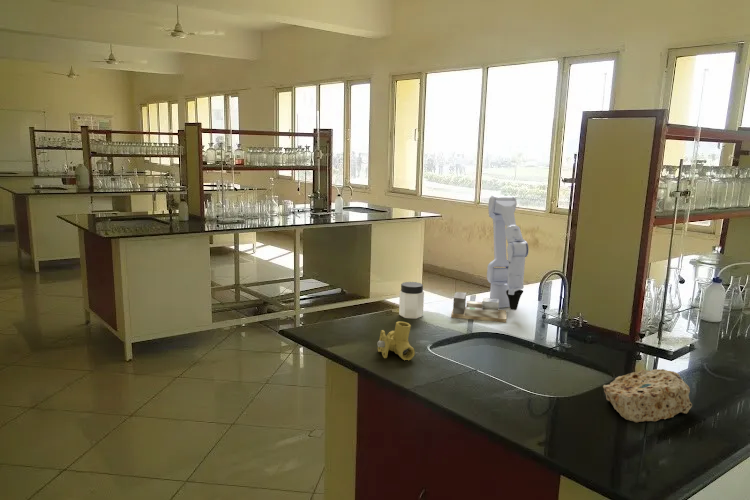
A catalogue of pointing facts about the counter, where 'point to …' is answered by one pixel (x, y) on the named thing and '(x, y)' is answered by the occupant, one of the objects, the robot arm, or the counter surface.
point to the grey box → (490, 303)
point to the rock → (649, 395)
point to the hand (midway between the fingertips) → (513, 309)
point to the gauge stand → (475, 310)
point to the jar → (411, 300)
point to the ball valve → (397, 341)
